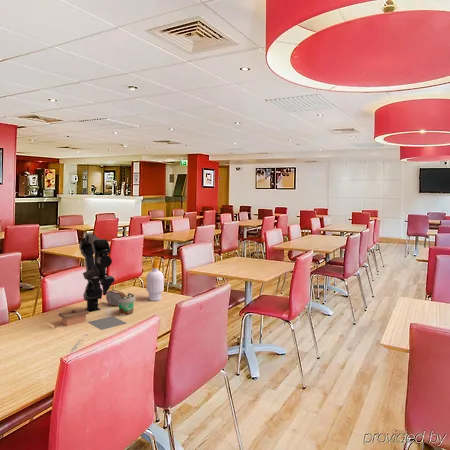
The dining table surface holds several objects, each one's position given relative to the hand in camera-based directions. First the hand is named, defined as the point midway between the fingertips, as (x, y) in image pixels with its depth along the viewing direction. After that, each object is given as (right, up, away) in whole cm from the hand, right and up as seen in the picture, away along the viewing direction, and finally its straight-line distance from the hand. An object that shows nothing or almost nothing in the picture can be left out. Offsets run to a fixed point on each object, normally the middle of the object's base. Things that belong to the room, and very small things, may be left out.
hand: (100, 293), depth 205 cm
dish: (-10, -14, -9) cm, 19 cm away
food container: (+13, -13, +8) cm, 20 cm away
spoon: (+1, -17, -34) cm, 38 cm away
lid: (-10, -9, -9) cm, 16 cm away
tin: (+2, -11, +22) cm, 25 cm away
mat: (+6, -14, -8) cm, 17 cm away
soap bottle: (+22, -10, +37) cm, 44 cm away
